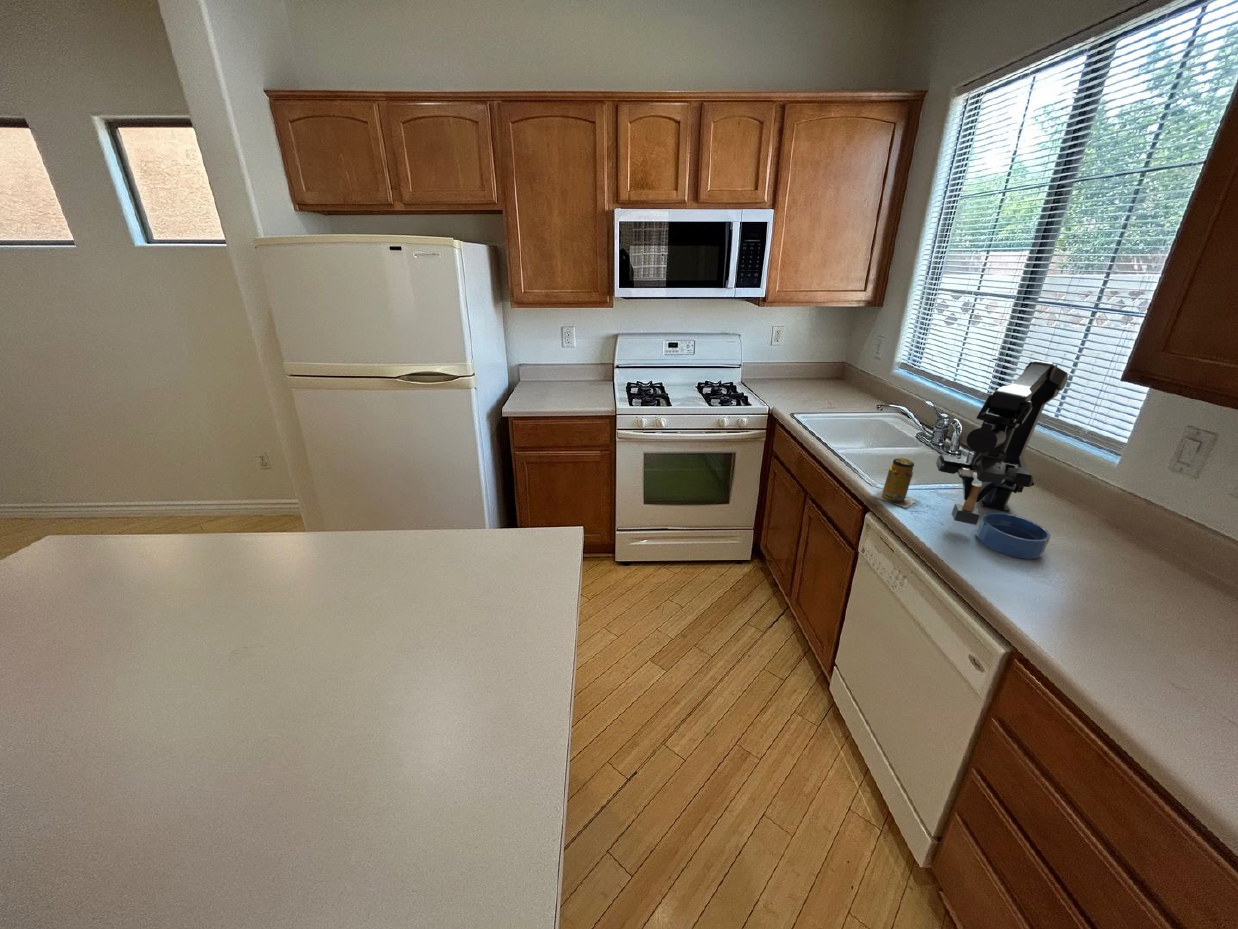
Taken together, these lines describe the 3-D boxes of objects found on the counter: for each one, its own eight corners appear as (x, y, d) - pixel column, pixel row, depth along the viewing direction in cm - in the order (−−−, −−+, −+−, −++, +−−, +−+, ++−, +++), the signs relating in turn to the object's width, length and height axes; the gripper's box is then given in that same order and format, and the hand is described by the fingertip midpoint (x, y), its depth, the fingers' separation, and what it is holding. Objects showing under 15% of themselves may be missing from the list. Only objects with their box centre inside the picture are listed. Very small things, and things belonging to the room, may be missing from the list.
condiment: (886, 490, 144) (897, 454, 139) (916, 501, 138) (928, 464, 133) (875, 497, 140) (886, 460, 135) (905, 509, 134) (917, 470, 129)
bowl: (970, 526, 126) (977, 508, 124) (1031, 538, 122) (1039, 520, 119) (982, 551, 115) (990, 532, 113) (1049, 566, 111) (1058, 546, 108)
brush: (951, 513, 125) (964, 479, 121) (973, 517, 123) (986, 483, 119) (954, 520, 121) (967, 485, 117) (976, 525, 120) (990, 490, 116)
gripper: (953, 447, 110) (932, 506, 117) (1053, 463, 103) (1025, 524, 110) (945, 432, 119) (927, 487, 126) (1036, 446, 113) (1011, 503, 119)
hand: (970, 500), depth 120 cm, fingers closed on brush, 2 cm apart
